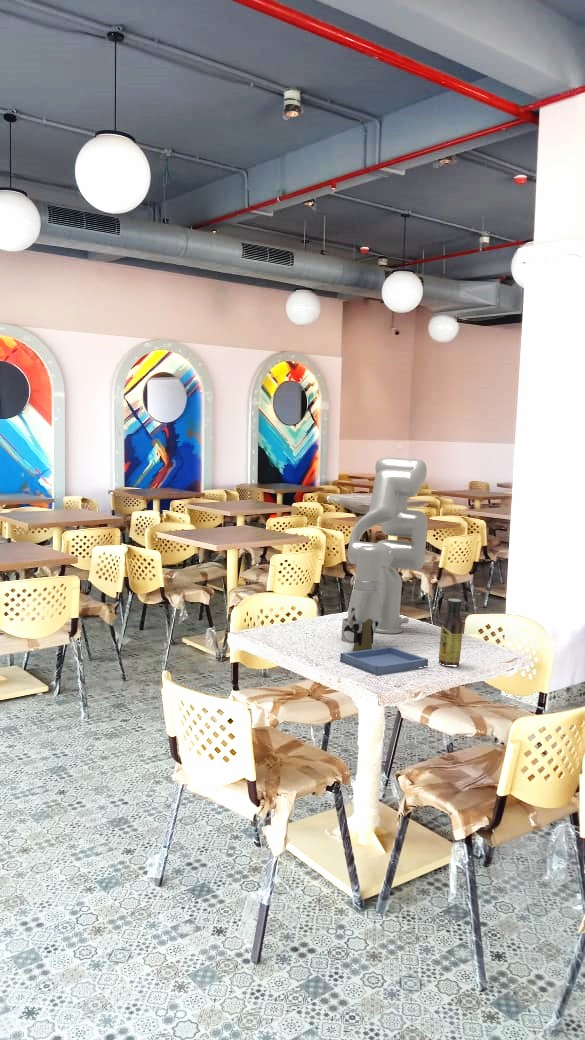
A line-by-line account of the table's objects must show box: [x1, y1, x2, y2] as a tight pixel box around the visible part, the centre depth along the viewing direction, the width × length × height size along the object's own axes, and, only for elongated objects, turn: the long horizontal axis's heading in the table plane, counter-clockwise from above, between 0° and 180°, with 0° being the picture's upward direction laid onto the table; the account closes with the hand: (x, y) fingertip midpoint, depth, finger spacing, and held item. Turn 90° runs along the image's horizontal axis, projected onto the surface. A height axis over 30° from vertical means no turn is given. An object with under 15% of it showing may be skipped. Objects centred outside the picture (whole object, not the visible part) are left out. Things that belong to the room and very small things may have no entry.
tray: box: [339, 646, 429, 676], centre depth 240 cm, size 20×16×2 cm
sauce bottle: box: [438, 598, 464, 666], centre depth 243 cm, size 6×6×20 cm
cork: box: [352, 619, 373, 652], centre depth 255 cm, size 6×6×11 cm
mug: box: [340, 617, 354, 644], centre depth 268 cm, size 10×7×7 cm
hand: (363, 643), depth 255 cm, fingers closed on cork, 3 cm apart
